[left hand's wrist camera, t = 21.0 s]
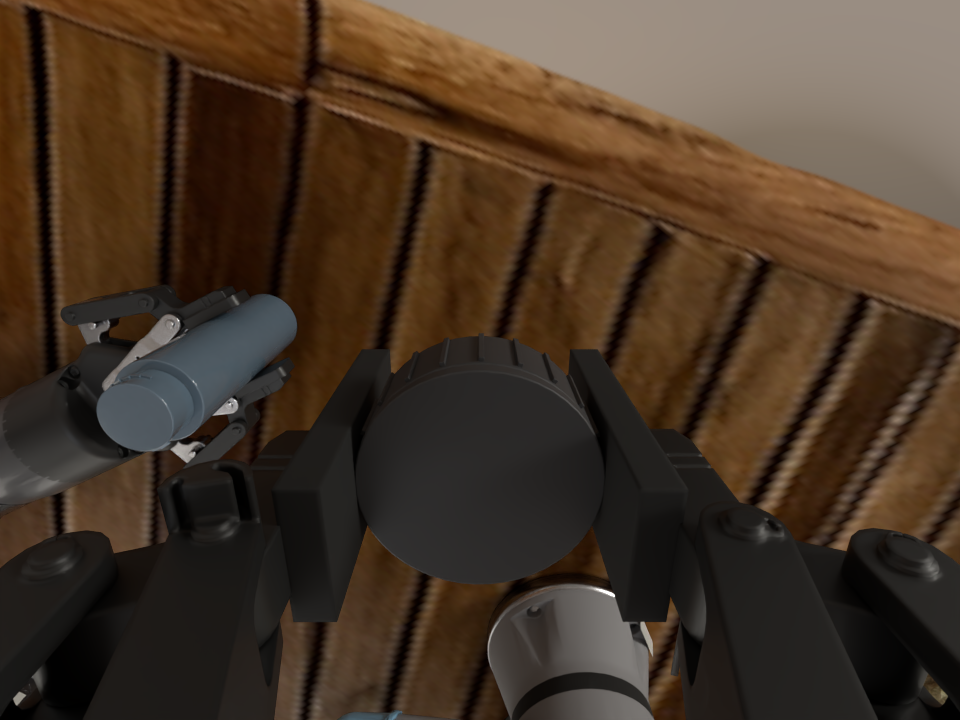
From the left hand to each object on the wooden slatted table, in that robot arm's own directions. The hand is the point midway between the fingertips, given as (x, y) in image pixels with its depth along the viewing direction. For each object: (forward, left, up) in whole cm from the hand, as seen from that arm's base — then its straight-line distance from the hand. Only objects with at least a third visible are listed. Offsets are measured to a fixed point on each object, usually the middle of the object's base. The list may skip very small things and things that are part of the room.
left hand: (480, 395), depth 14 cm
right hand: (-7, +13, -18) cm, 23 cm away
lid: (0, 0, +4) cm, 4 cm away
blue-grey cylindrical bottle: (-9, +15, -24) cm, 30 cm away
